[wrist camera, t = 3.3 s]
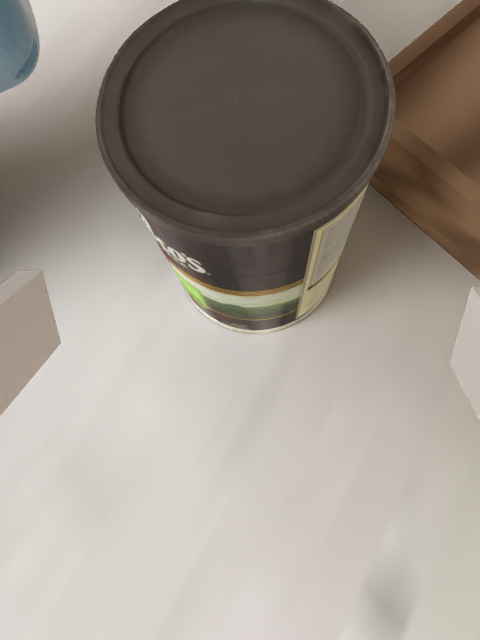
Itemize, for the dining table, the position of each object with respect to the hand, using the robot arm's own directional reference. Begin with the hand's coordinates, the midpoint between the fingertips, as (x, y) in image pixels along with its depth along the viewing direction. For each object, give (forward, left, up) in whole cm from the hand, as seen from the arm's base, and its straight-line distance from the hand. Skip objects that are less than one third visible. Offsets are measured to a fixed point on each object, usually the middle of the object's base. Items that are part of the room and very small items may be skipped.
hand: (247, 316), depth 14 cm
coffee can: (-6, +5, -13) cm, 15 cm away
